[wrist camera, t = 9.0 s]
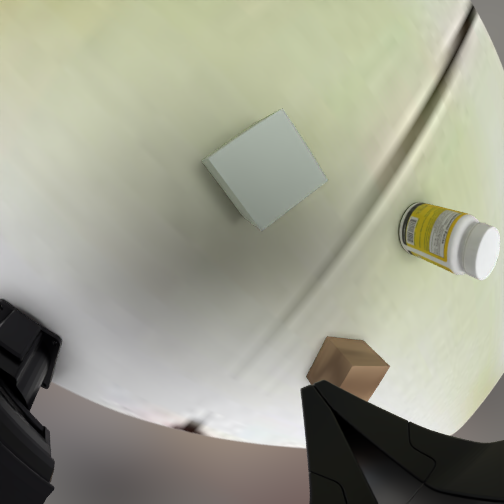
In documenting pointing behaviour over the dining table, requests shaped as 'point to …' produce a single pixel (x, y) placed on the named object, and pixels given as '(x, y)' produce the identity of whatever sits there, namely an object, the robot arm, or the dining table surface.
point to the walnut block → (349, 366)
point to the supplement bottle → (450, 240)
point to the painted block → (266, 169)
